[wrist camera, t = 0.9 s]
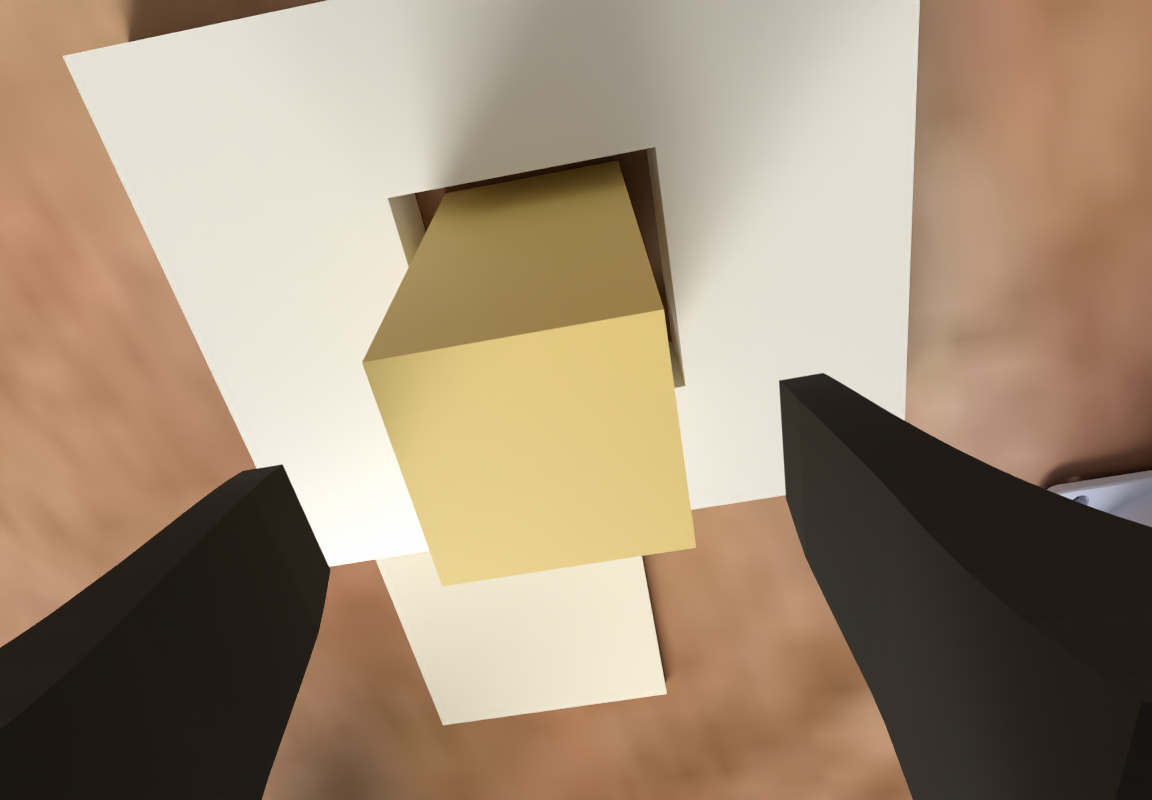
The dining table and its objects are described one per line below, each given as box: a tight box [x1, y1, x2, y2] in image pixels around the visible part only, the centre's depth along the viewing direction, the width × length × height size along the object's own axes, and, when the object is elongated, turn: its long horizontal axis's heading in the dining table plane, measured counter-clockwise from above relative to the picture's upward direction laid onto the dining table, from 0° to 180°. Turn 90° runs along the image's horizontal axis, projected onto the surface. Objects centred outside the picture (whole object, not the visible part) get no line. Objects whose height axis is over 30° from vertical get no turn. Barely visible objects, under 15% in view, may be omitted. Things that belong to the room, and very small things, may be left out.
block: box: [362, 161, 696, 586], centre depth 15 cm, size 4×4×9 cm
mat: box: [376, 551, 667, 725], centre depth 25 cm, size 8×8×1 cm
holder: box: [63, 0, 920, 566], centre depth 18 cm, size 16×13×2 cm
